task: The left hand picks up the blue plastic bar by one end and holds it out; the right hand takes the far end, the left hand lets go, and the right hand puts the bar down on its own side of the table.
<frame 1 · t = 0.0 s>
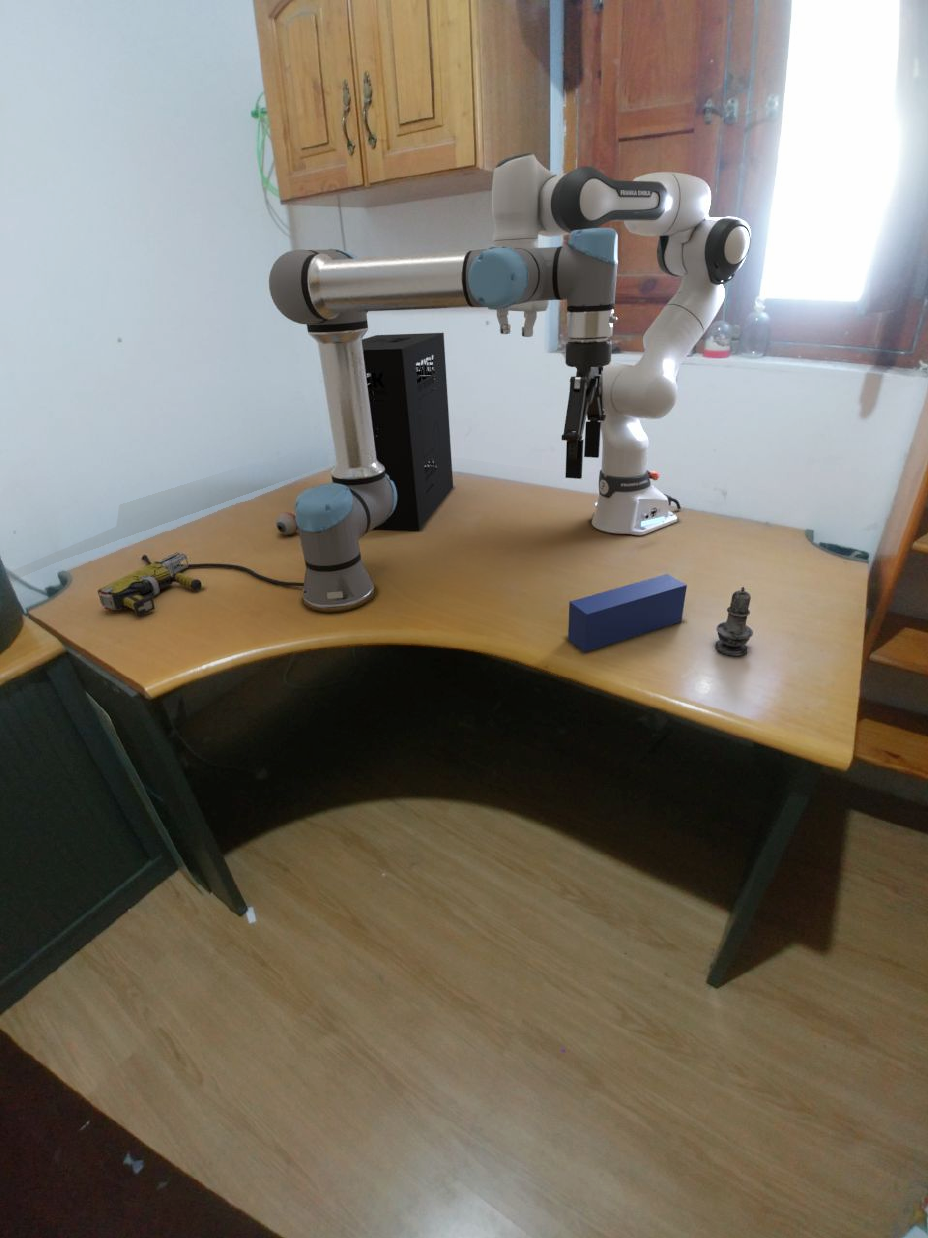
left hand: (582, 467, 110), 28 cm above the table, tool pointing down, fingers open, 13 cm apart
right hand: (516, 335, 125), 48 cm above the table, tool pointing down, fingers open, 8 cm apart
chess piece: (730, 648, 106), on the table
toy gun: (167, 592, 138), on the table
bar: (625, 630, 114), on the table
eyeball: (289, 534, 165), on the table
black boxy piece: (405, 506, 180), on the table
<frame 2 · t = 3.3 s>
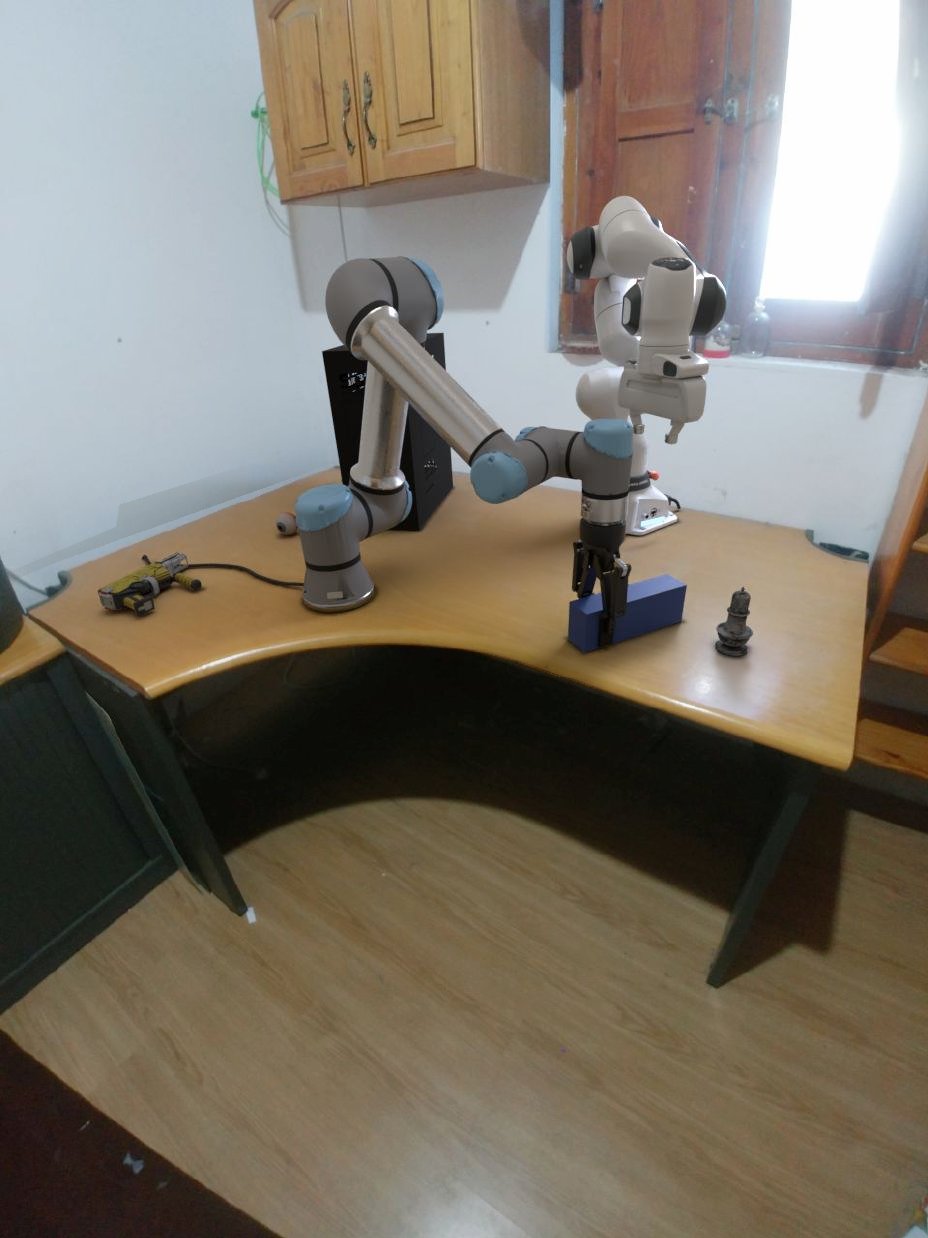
left hand: (595, 637, 111), 1 cm above the table, tool pointing down, fingers closed on bar, 5 cm apart
right hand: (653, 438, 117), 30 cm above the table, tool pointing down, fingers open, 8 cm apart
bar: (625, 630, 114), on the table, touching left hand
everything else where it was.
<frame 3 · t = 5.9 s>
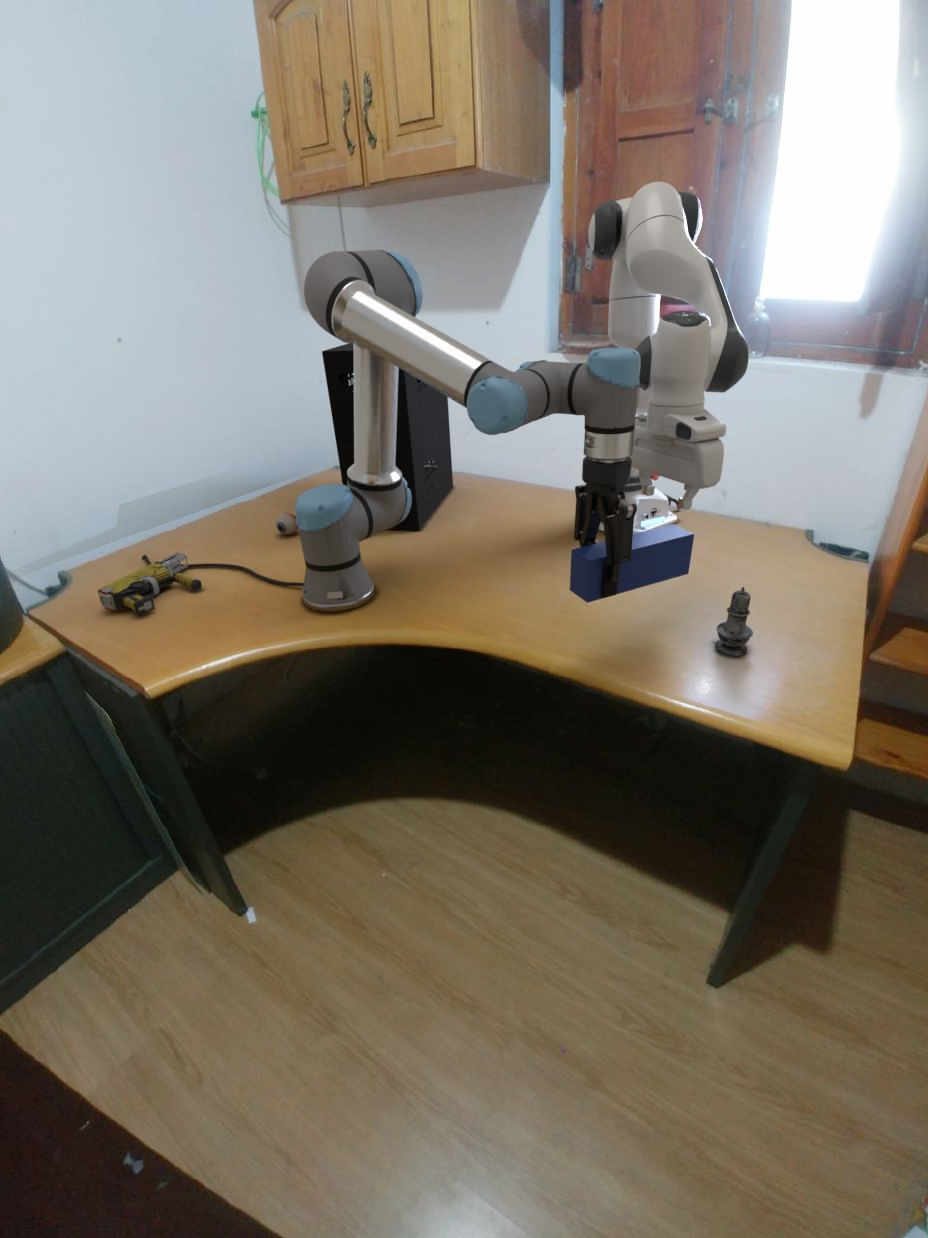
left hand: (598, 588, 106), 11 cm above the table, tool pointing down, fingers closed on bar, 5 cm apart
right hand: (665, 501, 107), 23 cm above the table, tool pointing down, fingers open, 8 cm apart
bar: (629, 581, 108), point 10 cm above the table, touching left hand
everything else where it was.
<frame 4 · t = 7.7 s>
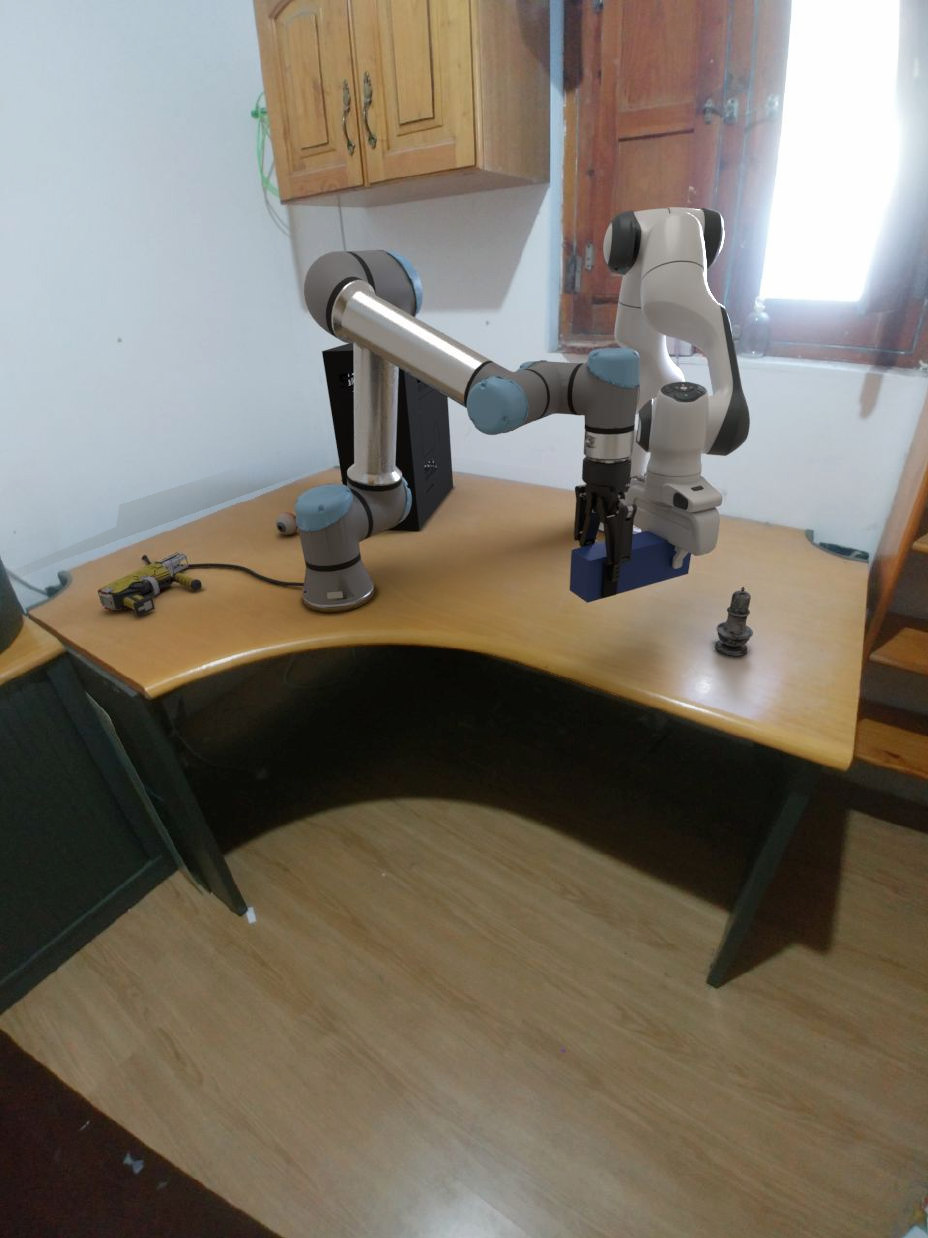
left hand: (598, 588, 106), 11 cm above the table, tool pointing down, fingers closed on bar, 5 cm apart
right hand: (662, 560, 109), 13 cm above the table, tool pointing down, fingers closed on bar, 5 cm apart
bar: (629, 582, 108), point 10 cm above the table, touching right hand, left hand
everything else where it was.
when the left hand's fingers open (11 cm above the table, at t = 8.5 s): bar stays where it is, held by the right hand.
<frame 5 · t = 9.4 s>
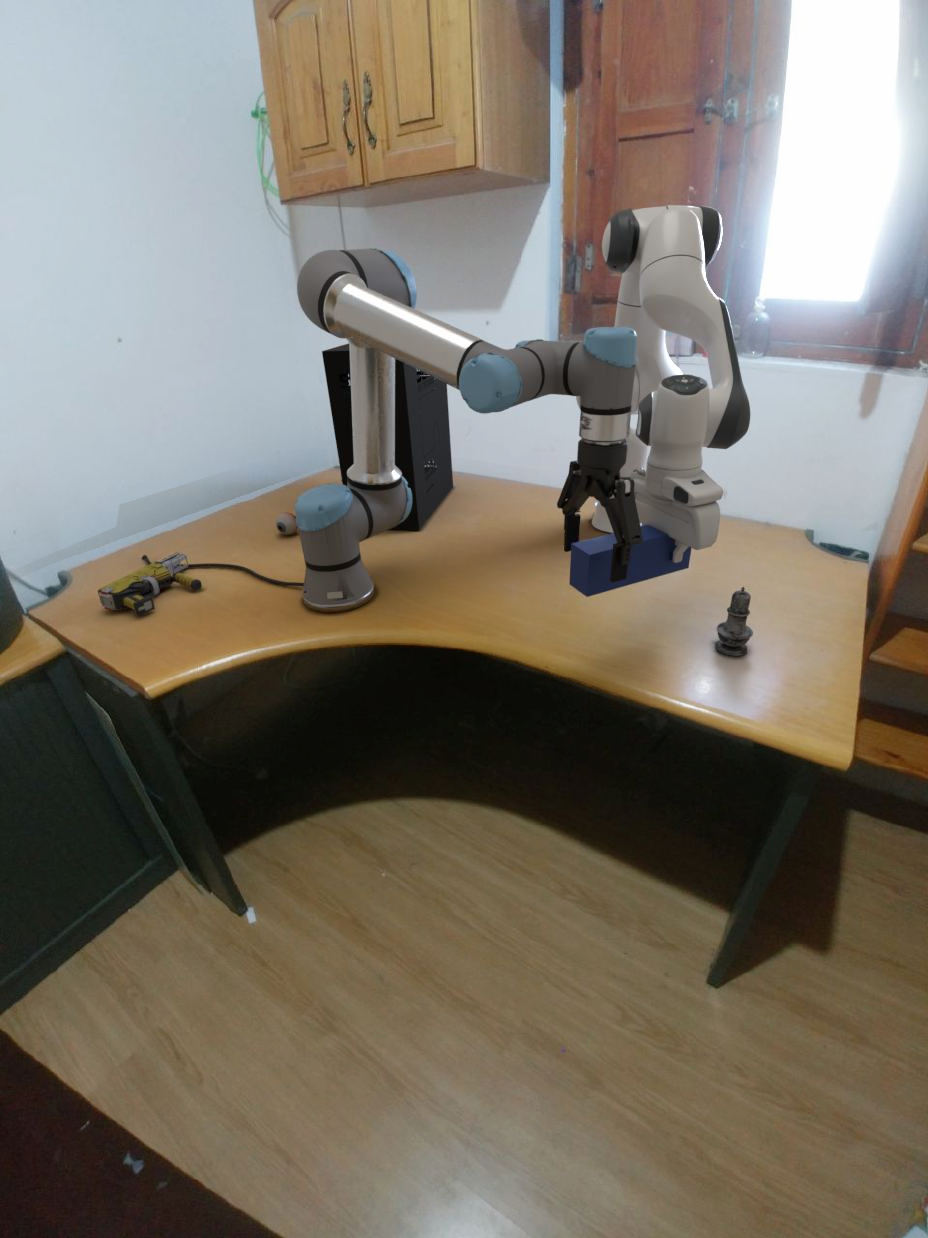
left hand: (593, 564, 103), 15 cm above the table, tool pointing down, fingers open, 13 cm apart
right hand: (662, 554, 109), 14 cm above the table, tool pointing down, fingers closed on bar, 5 cm apart
bar: (629, 576, 108), point 11 cm above the table, touching right hand
everything else where it was.
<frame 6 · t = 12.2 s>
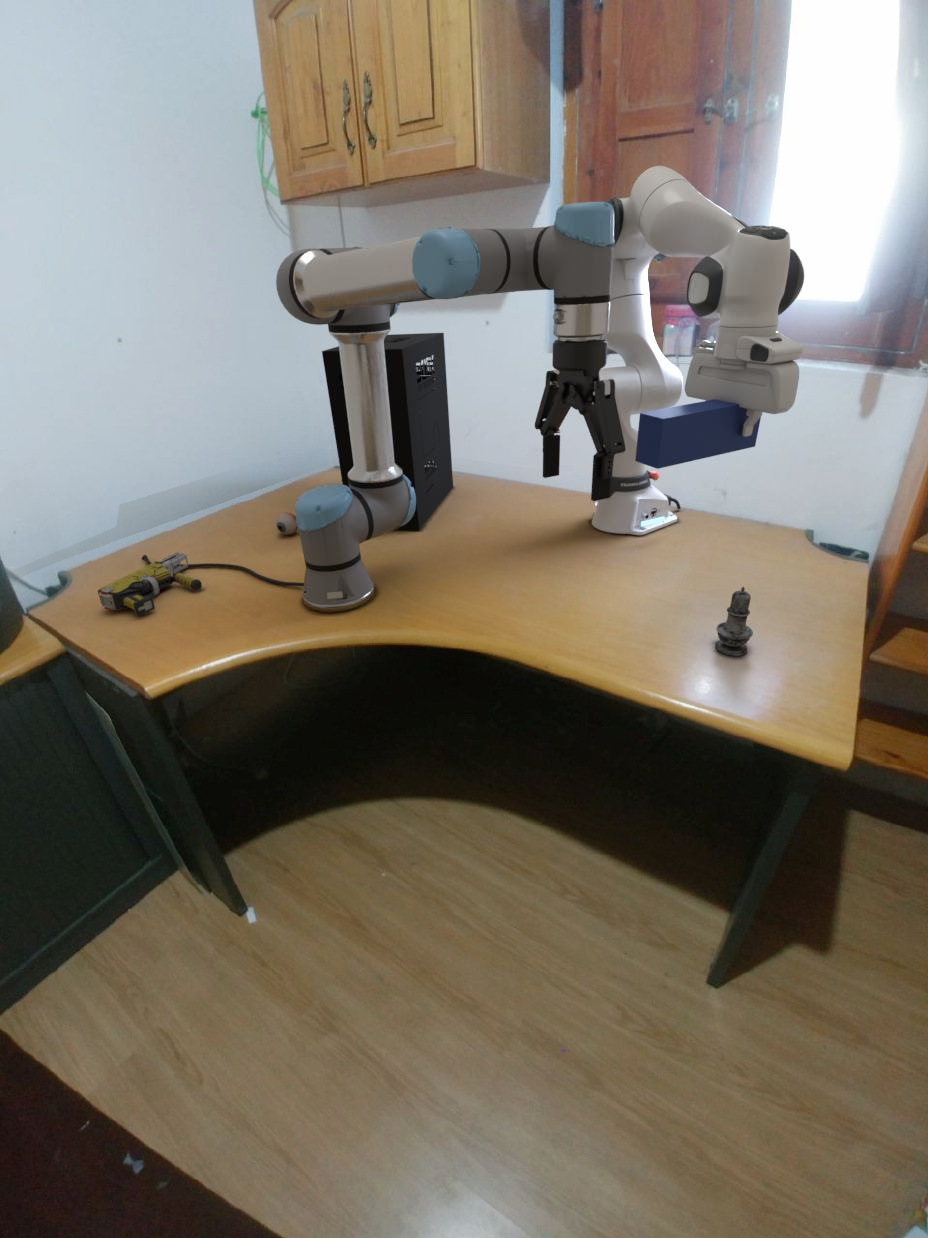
left hand: (574, 487, 94), 30 cm above the table, tool pointing down, fingers open, 13 cm apart
right hand: (728, 431, 105), 34 cm above the table, tool pointing down, fingers closed on bar, 5 cm apart
bar: (696, 453, 103), point 31 cm above the table, touching right hand
everything else where it was.
when the right hand's fingers open (4 cm above the table, at t = 17.2 s): bar drops 1 cm, on the table.
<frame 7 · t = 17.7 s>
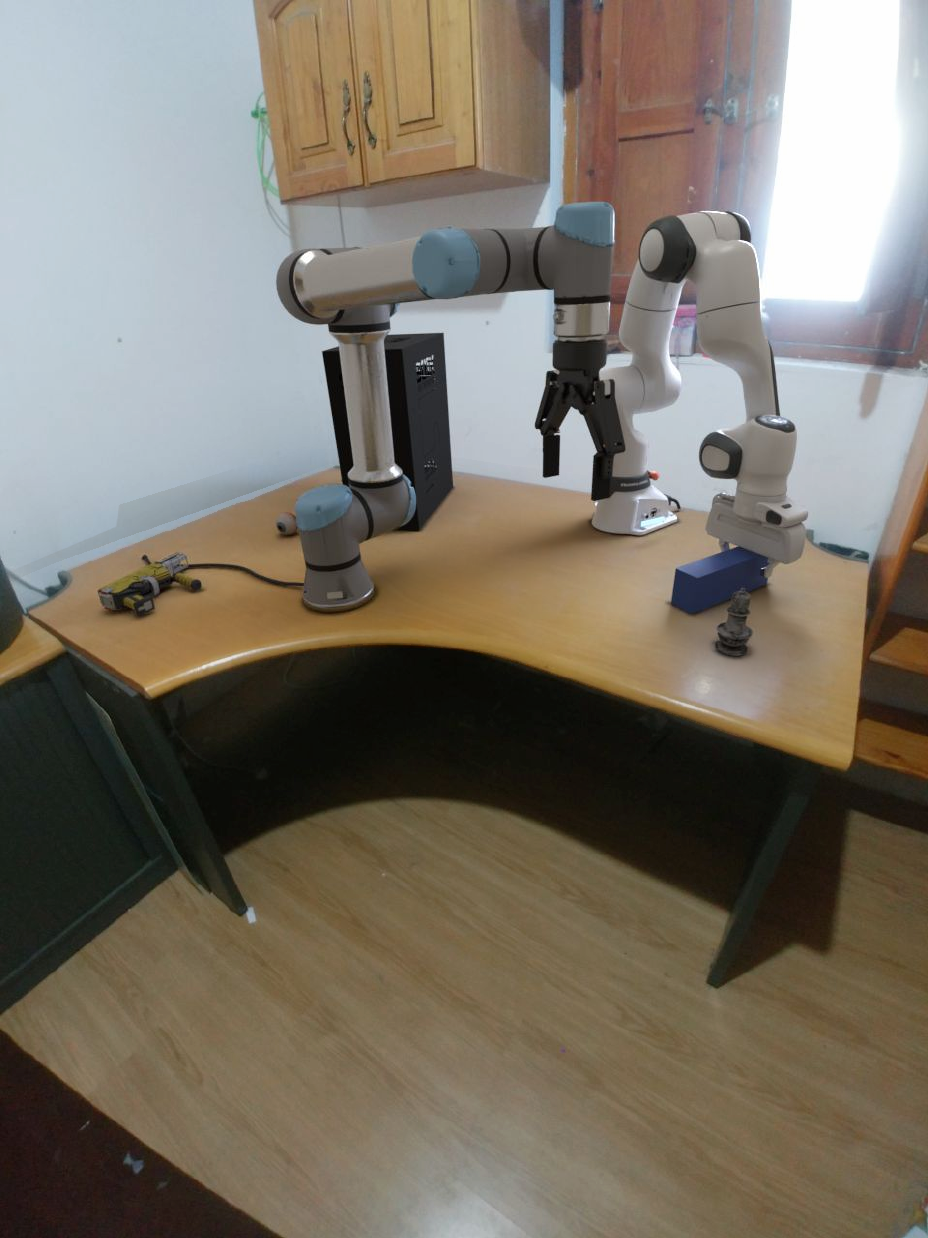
left hand: (574, 487, 94), 30 cm above the table, tool pointing down, fingers open, 13 cm apart
right hand: (745, 567, 124), 4 cm above the table, tool pointing down, fingers open, 8 cm apart
bar: (719, 593, 124), on the table
everything else where it was.
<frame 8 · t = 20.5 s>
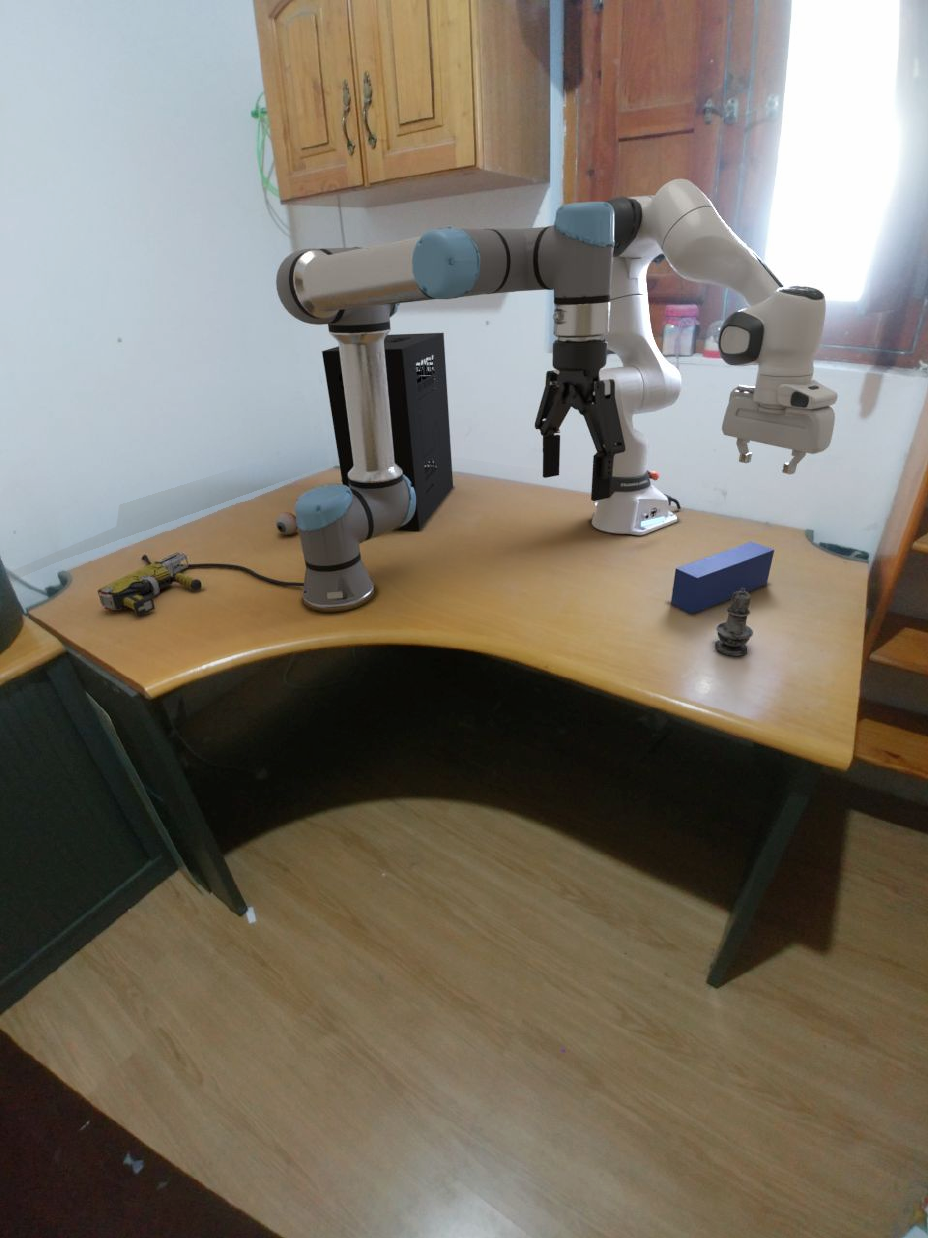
left hand: (574, 487, 94), 30 cm above the table, tool pointing down, fingers open, 13 cm apart
right hand: (765, 467, 114), 25 cm above the table, tool pointing down, fingers open, 8 cm apart
nothing on the table moved.
at the end: bar inside the target area (6.6 cm from its centre), on the table; the left hand is holding nothing; the right hand is holding nothing; bar at rest at the end (0.0 cm/s) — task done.
